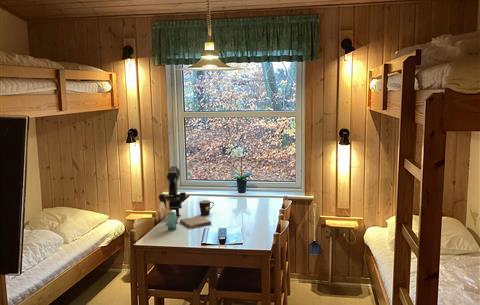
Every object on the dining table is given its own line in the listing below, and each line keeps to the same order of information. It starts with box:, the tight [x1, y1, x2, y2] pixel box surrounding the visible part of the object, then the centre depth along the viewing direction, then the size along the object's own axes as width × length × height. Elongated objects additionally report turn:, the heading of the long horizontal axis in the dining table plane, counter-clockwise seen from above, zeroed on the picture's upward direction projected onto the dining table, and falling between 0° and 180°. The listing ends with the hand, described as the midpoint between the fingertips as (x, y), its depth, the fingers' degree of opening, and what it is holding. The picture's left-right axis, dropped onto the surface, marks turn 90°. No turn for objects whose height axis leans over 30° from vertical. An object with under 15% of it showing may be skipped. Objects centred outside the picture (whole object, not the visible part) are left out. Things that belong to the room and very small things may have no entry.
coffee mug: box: [198, 199, 215, 217], centre depth 340 cm, size 12×9×10 cm
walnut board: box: [179, 215, 212, 229], centre depth 318 cm, size 18×16×2 cm
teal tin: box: [166, 209, 177, 232], centre depth 305 cm, size 6×6×13 cm
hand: (172, 207), depth 312 cm, fingers open, 9 cm apart
